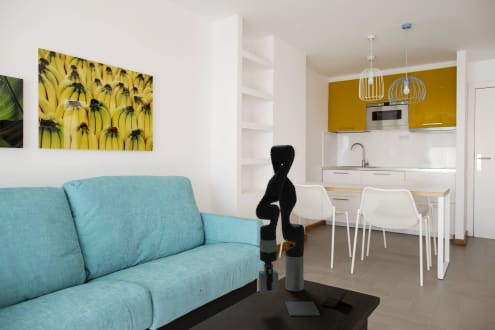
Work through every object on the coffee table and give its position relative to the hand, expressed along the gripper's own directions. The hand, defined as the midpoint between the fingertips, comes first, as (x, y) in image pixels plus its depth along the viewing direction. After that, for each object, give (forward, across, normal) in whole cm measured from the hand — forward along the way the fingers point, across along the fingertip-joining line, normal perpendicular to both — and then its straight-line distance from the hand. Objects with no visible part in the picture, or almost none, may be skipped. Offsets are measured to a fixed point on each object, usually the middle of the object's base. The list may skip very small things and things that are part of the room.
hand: (268, 287), depth 158 cm
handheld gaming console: (+11, -6, +31) cm, 33 cm away
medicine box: (+2, 0, 0) cm, 2 cm away
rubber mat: (+10, 0, +15) cm, 18 cm away
